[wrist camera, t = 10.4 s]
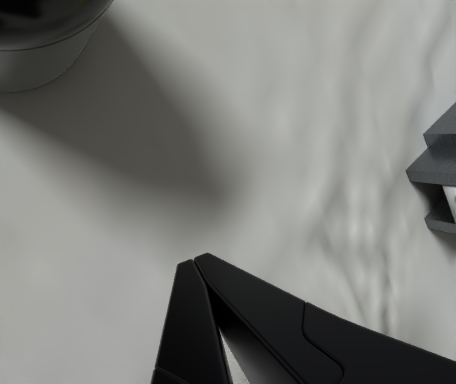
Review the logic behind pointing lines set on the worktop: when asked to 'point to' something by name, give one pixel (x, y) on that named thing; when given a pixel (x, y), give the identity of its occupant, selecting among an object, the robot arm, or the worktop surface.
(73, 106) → the worktop surface
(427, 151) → the switch strip
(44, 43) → the supplement bottle
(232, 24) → the worktop surface
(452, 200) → the orange knob lever
